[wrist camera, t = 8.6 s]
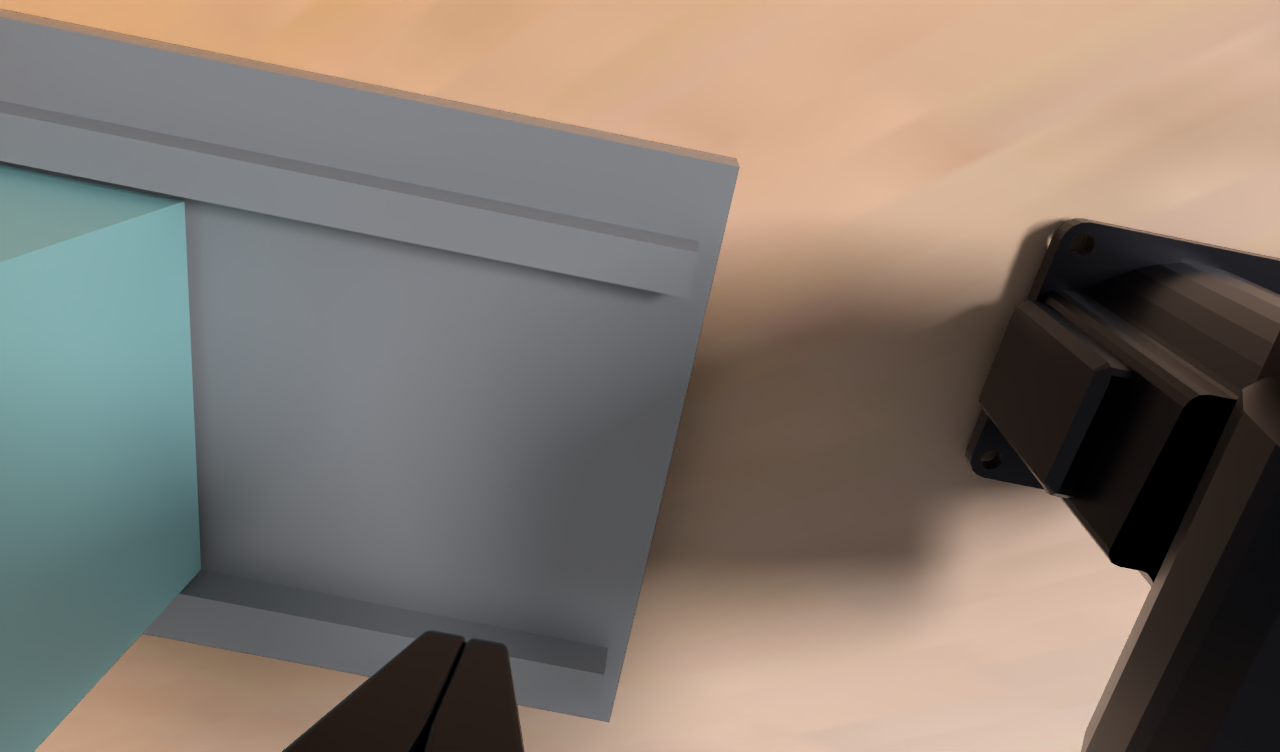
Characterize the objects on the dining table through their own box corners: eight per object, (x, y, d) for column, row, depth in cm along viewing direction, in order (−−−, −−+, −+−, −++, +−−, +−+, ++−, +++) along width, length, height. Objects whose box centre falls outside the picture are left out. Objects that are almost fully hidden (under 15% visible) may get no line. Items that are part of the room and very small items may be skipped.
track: (736, 158, 18) (752, 205, 13) (613, 690, 24) (593, 853, 19) (-117, -15, 17) (-426, -34, 13) (-12, 571, 24) (-189, 707, 19)
